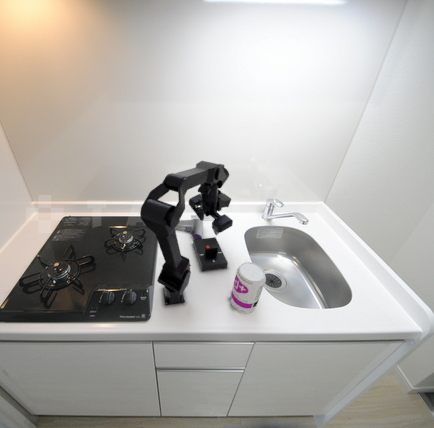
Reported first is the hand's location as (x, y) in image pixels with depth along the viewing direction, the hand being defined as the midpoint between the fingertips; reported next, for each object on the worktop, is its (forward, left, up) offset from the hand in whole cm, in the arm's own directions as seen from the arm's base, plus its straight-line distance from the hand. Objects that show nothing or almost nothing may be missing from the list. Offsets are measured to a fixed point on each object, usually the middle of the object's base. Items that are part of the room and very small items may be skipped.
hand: (209, 227), depth 81 cm
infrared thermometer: (+13, +6, -13) cm, 19 cm away
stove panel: (-3, 0, -12) cm, 13 cm away
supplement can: (-25, -5, -13) cm, 28 cm away
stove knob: (-5, 0, -9) cm, 11 cm away
